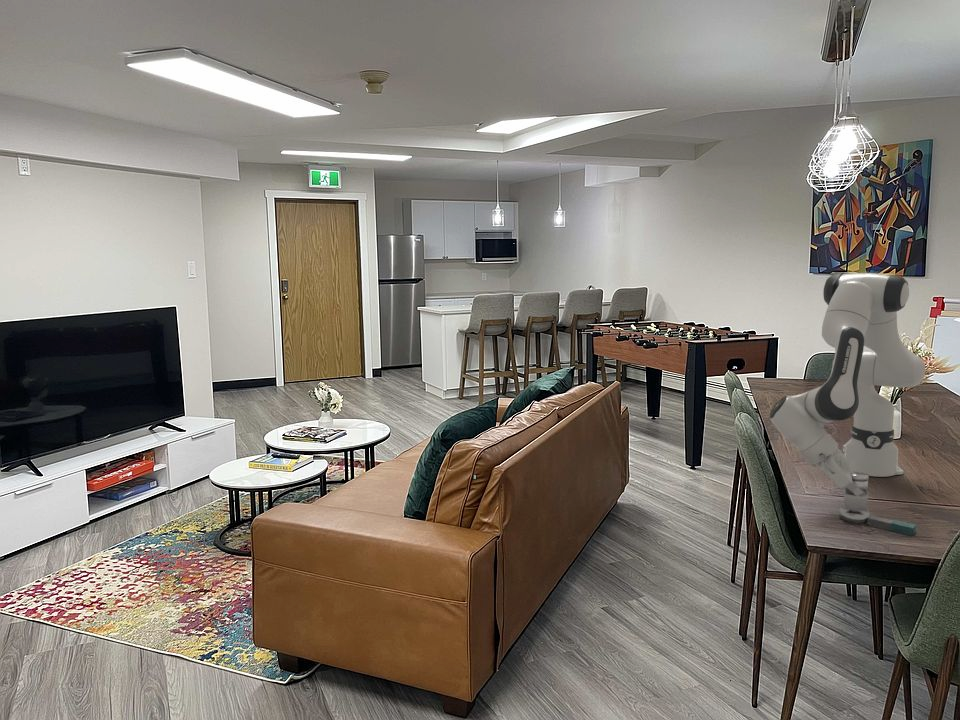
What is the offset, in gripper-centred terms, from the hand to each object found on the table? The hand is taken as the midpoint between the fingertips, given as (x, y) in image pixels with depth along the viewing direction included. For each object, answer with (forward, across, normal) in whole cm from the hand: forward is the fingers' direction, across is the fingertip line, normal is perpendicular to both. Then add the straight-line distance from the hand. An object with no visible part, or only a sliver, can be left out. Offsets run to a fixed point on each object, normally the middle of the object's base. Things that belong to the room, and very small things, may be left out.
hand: (859, 489), depth 187 cm
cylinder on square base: (+3, 0, +4) cm, 5 cm away
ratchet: (+9, -2, +3) cm, 10 cm away
